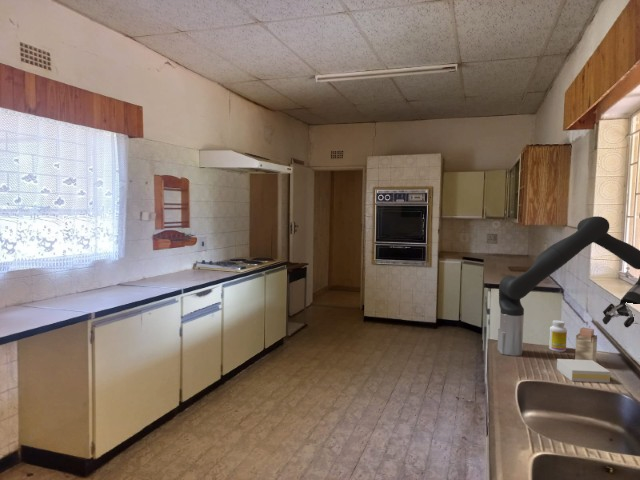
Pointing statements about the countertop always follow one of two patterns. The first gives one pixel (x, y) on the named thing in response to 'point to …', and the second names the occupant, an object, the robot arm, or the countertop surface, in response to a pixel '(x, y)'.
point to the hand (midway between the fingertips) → (614, 324)
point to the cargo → (587, 332)
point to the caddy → (585, 348)
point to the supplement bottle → (557, 336)
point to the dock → (583, 370)
